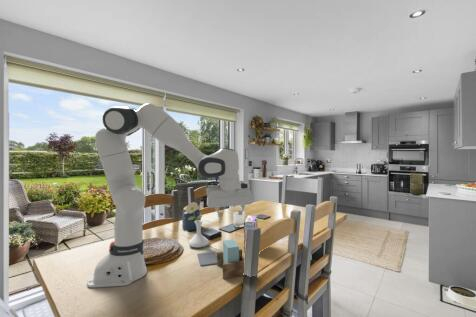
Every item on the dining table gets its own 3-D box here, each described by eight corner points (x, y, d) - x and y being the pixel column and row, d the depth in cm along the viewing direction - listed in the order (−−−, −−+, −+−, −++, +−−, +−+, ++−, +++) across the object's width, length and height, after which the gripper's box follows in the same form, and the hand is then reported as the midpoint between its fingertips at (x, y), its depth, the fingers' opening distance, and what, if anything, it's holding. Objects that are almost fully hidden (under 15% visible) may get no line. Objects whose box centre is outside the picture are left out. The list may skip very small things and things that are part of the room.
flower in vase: (206, 240, 143) (206, 199, 143) (210, 247, 133) (210, 202, 132) (184, 243, 139) (184, 200, 139) (186, 251, 128) (186, 204, 128)
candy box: (254, 253, 125) (254, 222, 125) (243, 252, 126) (243, 221, 126) (258, 243, 138) (257, 215, 138) (247, 243, 140) (247, 214, 139)
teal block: (227, 275, 102) (227, 247, 102) (223, 266, 111) (223, 240, 111) (239, 274, 104) (238, 246, 103) (233, 264, 112) (233, 239, 112)
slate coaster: (200, 266, 111) (200, 265, 111) (197, 254, 124) (197, 253, 124) (219, 263, 114) (219, 262, 114) (214, 252, 126) (214, 251, 126)
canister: (178, 228, 168) (178, 203, 168) (194, 224, 177) (194, 200, 176) (188, 232, 158) (188, 206, 158) (204, 228, 167) (204, 203, 167)
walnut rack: (223, 279, 100) (223, 264, 100) (217, 265, 112) (216, 252, 112) (250, 274, 103) (250, 260, 103) (241, 261, 116) (241, 249, 115)
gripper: (206, 187, 101) (207, 219, 101) (253, 184, 106) (253, 215, 106) (205, 185, 107) (205, 216, 107) (248, 182, 112) (249, 211, 112)
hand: (230, 215), depth 107 cm, fingers open, 8 cm apart
